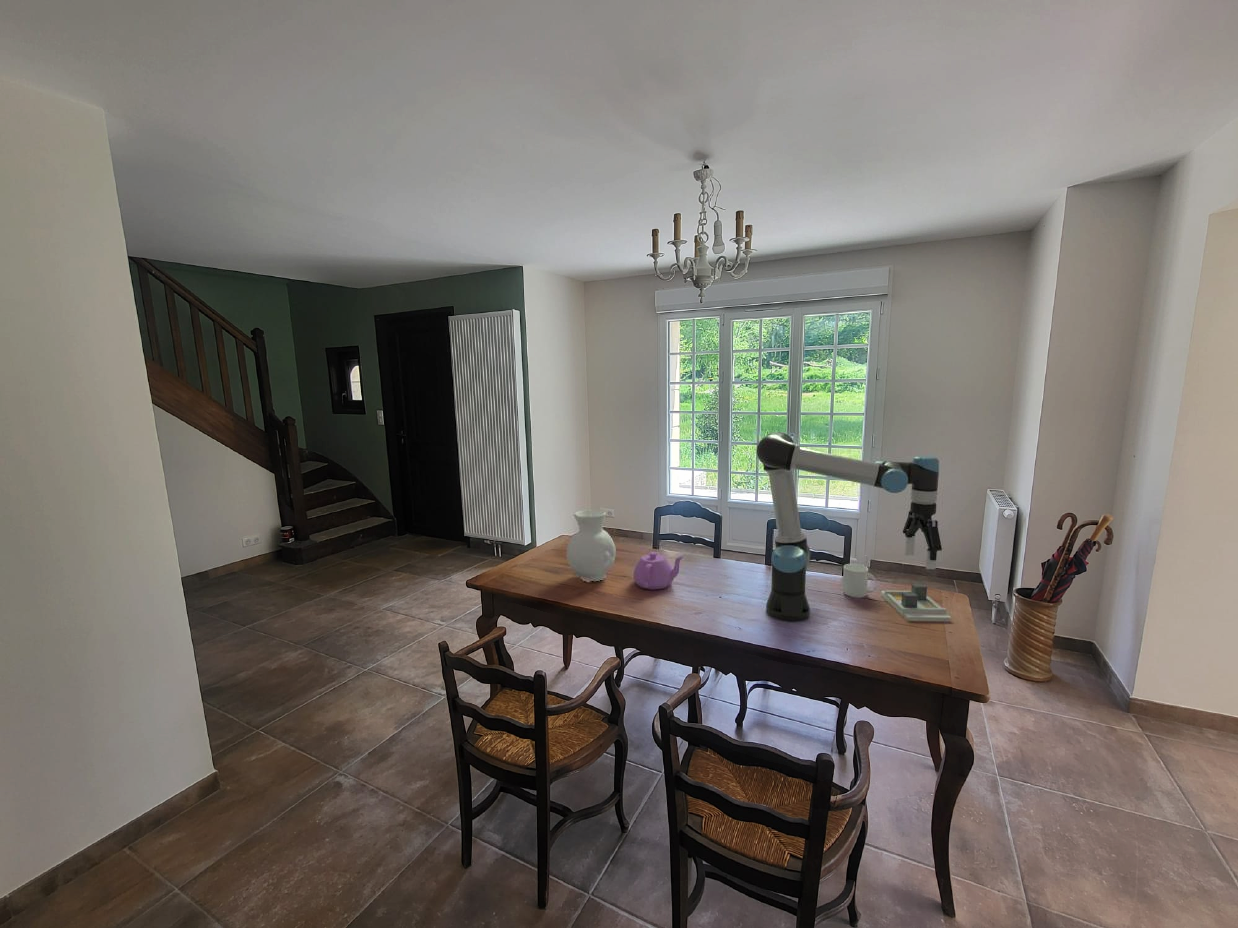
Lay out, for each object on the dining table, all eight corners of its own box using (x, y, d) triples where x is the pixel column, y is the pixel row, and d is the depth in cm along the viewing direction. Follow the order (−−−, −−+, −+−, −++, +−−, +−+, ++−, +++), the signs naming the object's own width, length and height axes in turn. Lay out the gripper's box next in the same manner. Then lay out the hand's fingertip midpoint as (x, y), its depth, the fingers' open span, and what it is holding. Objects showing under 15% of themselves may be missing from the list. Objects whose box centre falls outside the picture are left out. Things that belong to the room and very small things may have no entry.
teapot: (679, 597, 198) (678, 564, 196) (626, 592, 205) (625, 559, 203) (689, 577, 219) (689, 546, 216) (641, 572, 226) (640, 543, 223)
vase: (623, 574, 224) (621, 509, 220) (596, 591, 207) (593, 521, 202) (590, 567, 234) (587, 504, 230) (561, 583, 217) (557, 515, 212)
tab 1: (905, 609, 178) (905, 595, 178) (901, 605, 181) (902, 592, 180) (916, 609, 178) (917, 595, 177) (912, 605, 181) (913, 592, 180)
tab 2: (914, 599, 186) (915, 586, 185) (910, 596, 188) (911, 583, 188) (926, 599, 185) (927, 586, 184) (922, 596, 188) (922, 583, 187)
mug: (874, 602, 189) (875, 575, 187) (840, 594, 196) (841, 568, 194) (878, 594, 195) (880, 567, 194) (845, 587, 203) (846, 562, 201)
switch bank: (907, 620, 173) (908, 612, 173) (880, 594, 195) (881, 587, 194) (950, 621, 172) (951, 613, 172) (918, 594, 194) (919, 587, 193)
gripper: (957, 510, 158) (952, 574, 161) (915, 493, 183) (912, 549, 186) (932, 511, 158) (928, 575, 162) (894, 494, 183) (891, 549, 186)
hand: (919, 561), depth 174 cm, fingers open, 13 cm apart
